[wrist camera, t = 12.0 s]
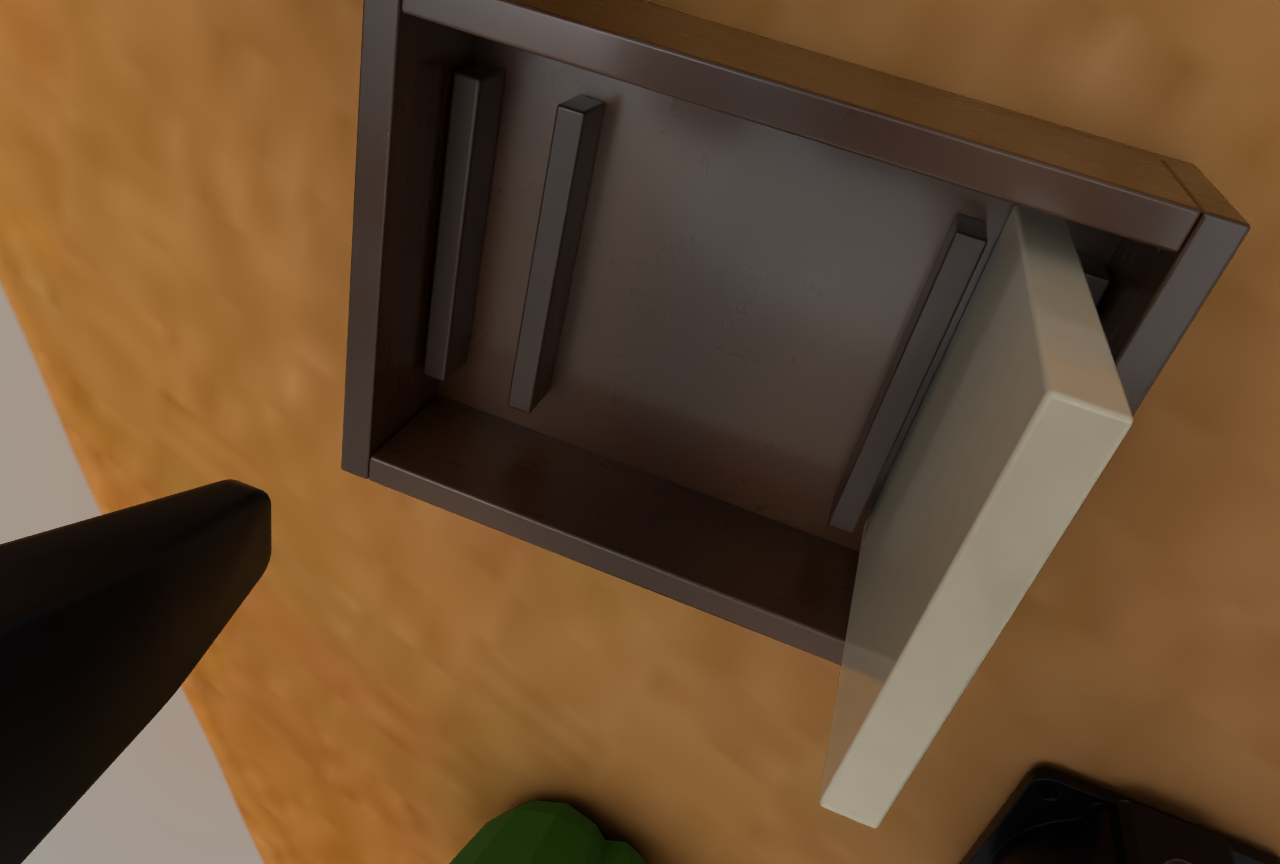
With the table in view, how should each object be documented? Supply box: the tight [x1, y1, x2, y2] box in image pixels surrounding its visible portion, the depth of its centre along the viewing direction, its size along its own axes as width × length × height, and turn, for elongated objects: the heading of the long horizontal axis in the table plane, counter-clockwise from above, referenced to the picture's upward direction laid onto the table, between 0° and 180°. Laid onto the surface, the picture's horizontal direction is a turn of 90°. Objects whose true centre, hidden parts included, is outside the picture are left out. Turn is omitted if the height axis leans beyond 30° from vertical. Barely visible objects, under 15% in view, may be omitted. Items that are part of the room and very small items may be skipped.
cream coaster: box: [819, 205, 1133, 829], centre depth 16 cm, size 1×8×8 cm, turn 167°
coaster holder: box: [341, 0, 1250, 665], centre depth 18 cm, size 14×11×4 cm
